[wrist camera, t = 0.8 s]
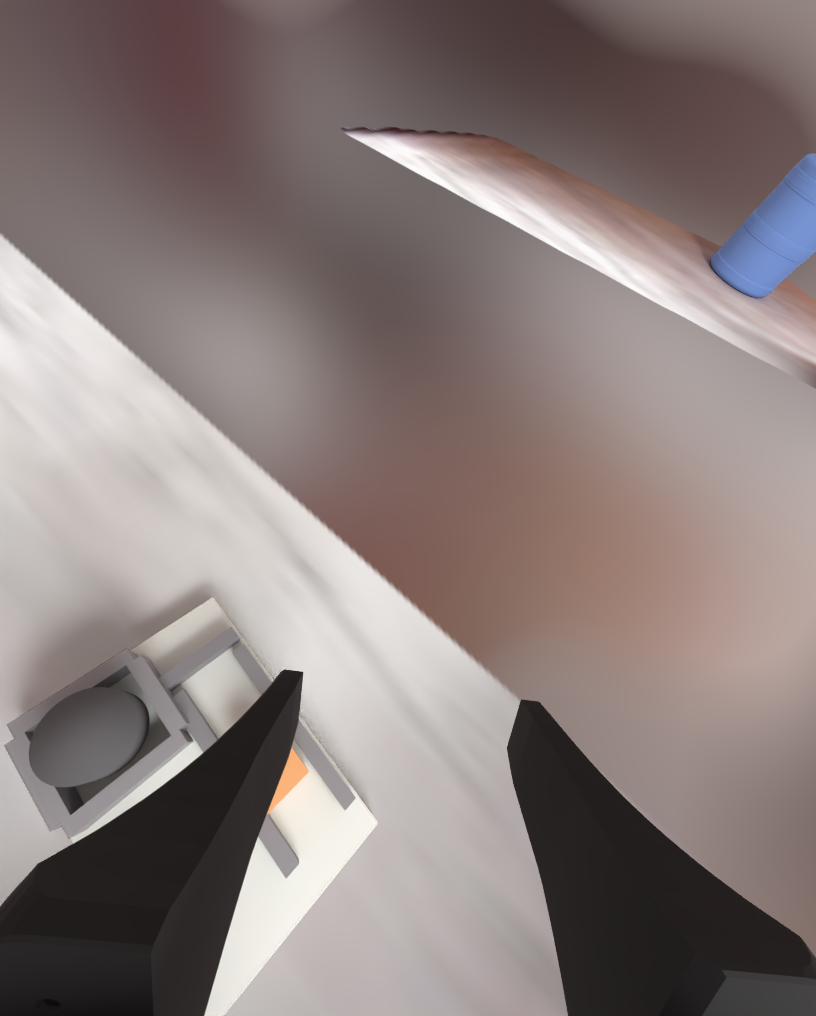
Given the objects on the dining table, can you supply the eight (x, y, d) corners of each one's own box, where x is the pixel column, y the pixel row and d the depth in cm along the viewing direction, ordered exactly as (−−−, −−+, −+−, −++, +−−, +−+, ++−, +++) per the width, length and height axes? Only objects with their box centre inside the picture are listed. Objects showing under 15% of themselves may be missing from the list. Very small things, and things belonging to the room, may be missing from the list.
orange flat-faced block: (269, 803, 21) (267, 814, 18) (240, 759, 22) (234, 764, 19) (305, 766, 22) (309, 771, 20) (277, 726, 23) (276, 726, 20)
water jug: (743, 300, 87) (913, 142, 63) (696, 257, 92) (837, 97, 69) (775, 299, 93) (940, 156, 70) (730, 259, 99) (868, 114, 75)
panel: (196, 1034, 18) (179, 1095, 15) (26, 727, 21) (-16, 727, 18) (373, 817, 23) (385, 830, 20) (216, 603, 27) (208, 587, 24)
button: (79, 802, 18) (54, 811, 16) (40, 732, 19) (11, 732, 17) (164, 735, 20) (152, 735, 18) (125, 674, 21) (109, 668, 19)
